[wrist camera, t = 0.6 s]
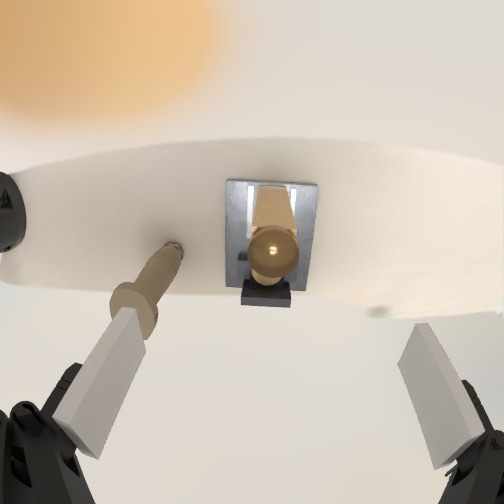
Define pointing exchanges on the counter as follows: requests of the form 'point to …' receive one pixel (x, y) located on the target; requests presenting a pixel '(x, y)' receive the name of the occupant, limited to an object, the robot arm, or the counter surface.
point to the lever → (273, 234)
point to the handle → (148, 287)
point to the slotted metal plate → (240, 233)
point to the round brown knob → (264, 279)
